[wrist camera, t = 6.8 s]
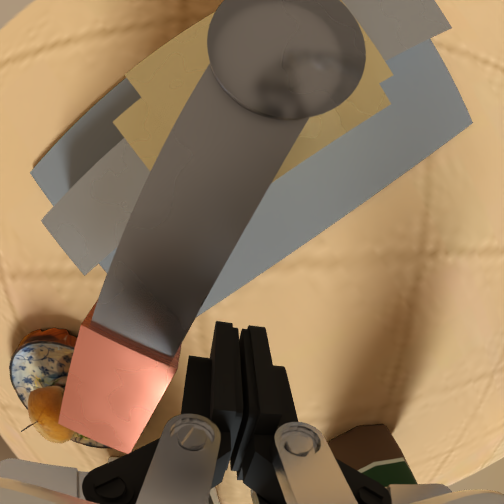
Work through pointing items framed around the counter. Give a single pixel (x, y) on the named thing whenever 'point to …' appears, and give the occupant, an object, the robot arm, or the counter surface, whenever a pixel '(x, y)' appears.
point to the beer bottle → (373, 454)
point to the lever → (204, 200)
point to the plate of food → (46, 382)
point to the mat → (304, 174)
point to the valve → (177, 94)
